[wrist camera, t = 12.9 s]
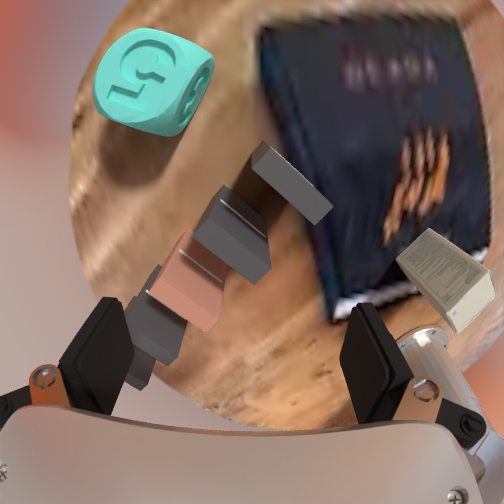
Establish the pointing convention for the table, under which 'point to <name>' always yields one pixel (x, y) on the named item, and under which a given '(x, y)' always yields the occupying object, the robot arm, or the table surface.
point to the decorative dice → (152, 81)
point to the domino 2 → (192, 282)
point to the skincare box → (448, 278)
